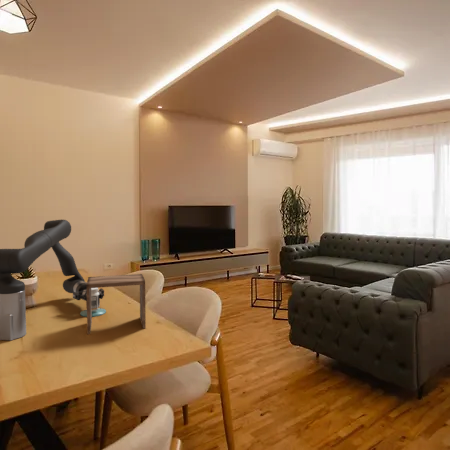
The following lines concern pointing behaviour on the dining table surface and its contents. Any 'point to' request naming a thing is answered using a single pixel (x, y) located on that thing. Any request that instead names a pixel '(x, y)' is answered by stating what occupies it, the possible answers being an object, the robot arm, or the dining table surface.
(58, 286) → the dining table surface
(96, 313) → the mat
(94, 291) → the pill bottle
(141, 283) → the cubby
